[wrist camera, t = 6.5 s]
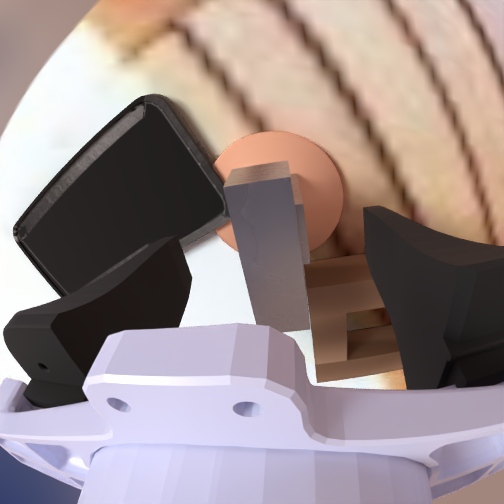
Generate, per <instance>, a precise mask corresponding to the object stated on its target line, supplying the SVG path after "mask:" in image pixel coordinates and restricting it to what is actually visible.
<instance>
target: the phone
mask: <svg viewBox="0 0 504 504" xmlns="http://www.w3.org/2000/svg"><path fill="white" fill-rule="evenodd" d="M213 164H214V163H213V162H212V160H211V159H210V157H209V156H208V154H207V153H206V151H205V150H204V148H203V147H202V146H201V144H200V143H199V141H198V140H197V138H196V137H195V135H194V134H193V132H192V131H191V130H190V128H189V127H188V125H187V124H186V122H185V121H184V119H183V118H182V117H181V115H180V114H179V112H178V111H177V109H176V108H175V106H174V105H173V104H172V102H171V101H170V100H169V99H168V98H167V97H165V96H163V95H160V94H150V95H145V96H141V97H139V98H137V99H136V100H134V101H133V102H132V103H131V104H130V105H128V106H127V107H126V108H125V109H124V110H122V111H121V112H120V113H119V114H118V115H117V116H116V117H114V118H113V119H112V120H111V121H110V122H109V123H108V124H107V125H106V126H104V127H103V128H102V129H101V130H100V131H99V132H98V133H97V134H96V135H95V136H94V137H93V138H92V139H91V140H90V141H89V142H87V143H86V144H85V145H84V146H83V147H82V148H81V149H80V150H79V151H78V152H77V153H76V154H75V155H74V156H73V157H72V159H71V160H70V161H69V162H68V163H67V164H66V165H65V166H64V167H63V168H62V169H61V170H60V171H59V172H58V173H57V174H56V176H55V177H54V178H53V179H52V180H51V181H50V182H49V183H48V185H47V186H46V187H45V188H44V189H43V190H42V191H41V193H40V194H39V195H38V196H37V197H36V198H35V200H34V201H33V202H32V203H31V205H30V206H29V207H28V208H27V209H26V211H25V212H24V213H23V215H22V216H21V217H20V218H19V220H18V221H17V222H16V224H15V225H14V227H13V236H14V239H15V241H16V243H17V244H18V246H19V247H20V248H21V250H22V251H23V252H24V254H25V255H26V256H27V257H28V259H29V260H30V261H31V262H32V264H33V265H34V266H35V267H36V269H37V270H38V271H39V272H40V274H41V275H42V276H43V277H44V278H45V280H46V281H47V282H48V283H49V284H50V286H51V287H52V288H53V289H54V290H55V291H56V292H57V294H58V295H59V296H60V297H61V298H62V297H65V296H67V295H69V294H71V293H73V292H76V291H78V290H80V289H82V288H84V287H86V286H88V285H90V284H92V283H93V282H95V281H97V280H99V279H101V278H102V277H104V276H106V275H107V274H109V273H110V272H112V271H113V270H115V269H116V268H118V267H119V266H121V265H122V264H124V263H125V262H127V261H128V260H130V259H131V258H132V257H134V256H135V255H137V254H138V253H139V252H141V251H142V250H144V249H145V248H147V247H148V246H150V245H151V244H153V243H154V242H156V241H158V240H159V239H162V238H164V237H170V236H176V235H178V238H179V241H180V244H181V247H182V248H183V247H184V246H186V245H188V244H190V243H191V242H193V241H195V240H197V239H198V238H200V237H202V236H204V235H206V234H207V233H209V232H211V231H213V230H215V229H216V228H218V227H220V226H222V225H224V224H225V223H226V222H227V221H229V219H230V215H229V210H228V206H227V202H226V198H225V194H224V189H223V186H224V183H223V181H222V180H221V178H220V177H219V175H218V174H217V172H216V171H215V169H214V168H213Z"/></svg>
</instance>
